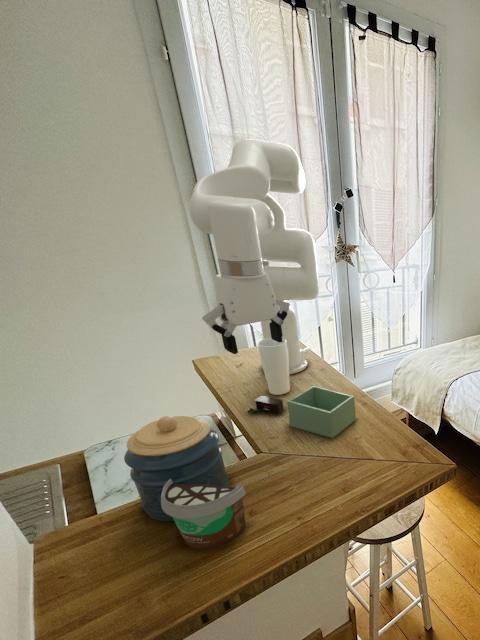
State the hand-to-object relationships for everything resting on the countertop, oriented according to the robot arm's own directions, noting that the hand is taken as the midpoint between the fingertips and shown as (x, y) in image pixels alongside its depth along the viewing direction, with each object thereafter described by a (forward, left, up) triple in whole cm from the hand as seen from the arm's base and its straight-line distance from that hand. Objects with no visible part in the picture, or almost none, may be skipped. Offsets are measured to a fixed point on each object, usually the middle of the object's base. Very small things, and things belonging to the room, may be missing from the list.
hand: (255, 346), depth 87 cm
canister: (+24, +4, -22) cm, 32 cm away
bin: (-7, +10, -22) cm, 25 cm away
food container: (+30, +16, -22) cm, 40 cm away
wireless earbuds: (-5, -6, -22) cm, 23 cm away
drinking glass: (-15, -11, -22) cm, 29 cm away
